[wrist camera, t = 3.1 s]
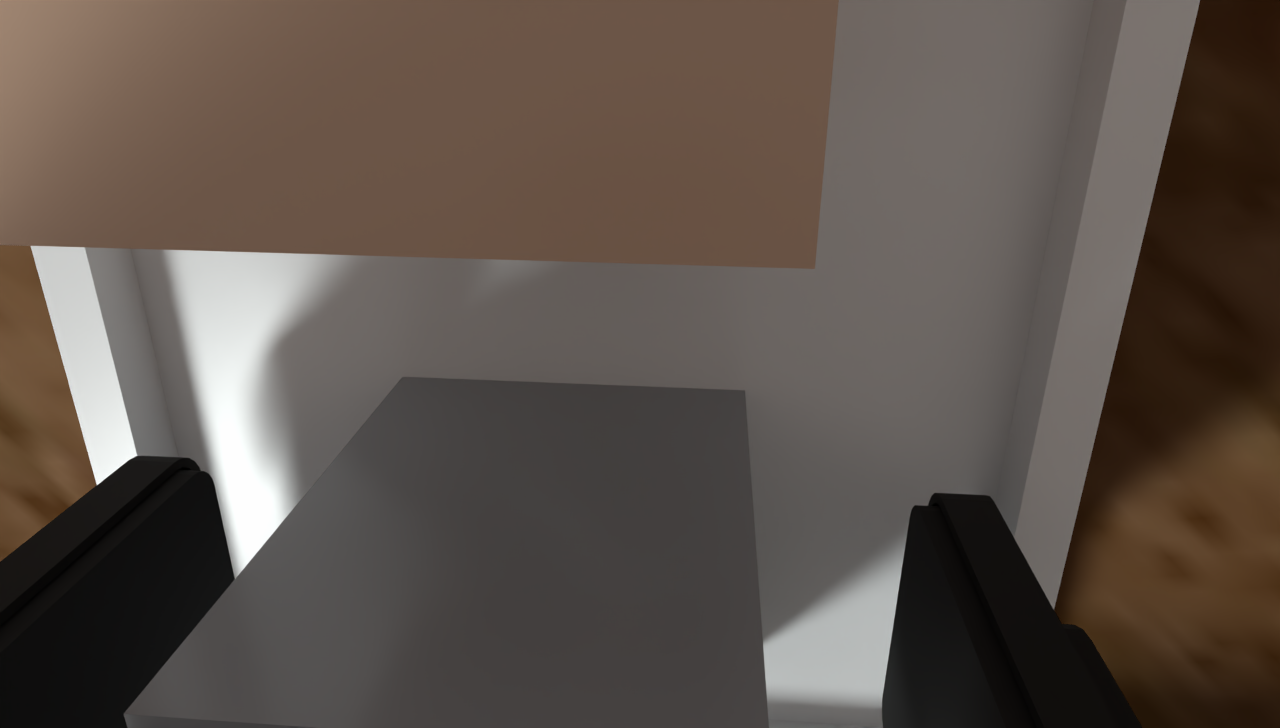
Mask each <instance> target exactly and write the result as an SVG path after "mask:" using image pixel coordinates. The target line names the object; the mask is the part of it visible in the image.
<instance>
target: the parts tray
mask: <svg viewBox="0 0 1280 728" xmlns="http://www.w3.org/2000/svg"><path fill="white" fill-rule="evenodd" d="M1199 3H1200V0H839V3H838V14H837V25H836V37H835V48H834V59H833V70H832V82H831V93H830V104H829V115H828V127H827V138H826V149H825V160H824V172H823V183H822V194H821V205H820V217H819V228H818V239H817V250H816V262H815V269H801V268H767V267H733V266H699V265H665V264H632V263H598V262H564V261H530V260H496V259H462V258H428V257H394V256H360V255H326V254H292V253H259V252H225V251H191V250H157V249H123V248H89V247H55V246H31V249H32V252H33V256H34V260H35V263H36V267H37V271H38V274H39V278H40V281H41V285H42V289H43V292H44V296H45V299H46V303H47V307H48V310H49V314H50V317H51V321H52V325H53V328H54V332H55V335H56V339H57V343H58V346H59V350H60V353H61V357H62V361H63V364H64V368H65V372H66V375H67V379H68V382H69V386H70V390H71V393H72V397H73V400H74V404H75V408H76V411H77V415H78V418H79V422H80V426H81V429H82V433H83V436H84V440H85V444H86V447H87V451H88V454H89V458H90V462H91V465H92V469H93V473H94V476H95V480H96V483H97V485H98V484H99V483H100V482H102V481H103V480H104V479H106V478H107V477H108V476H109V475H111V474H112V473H113V472H114V471H116V470H117V469H118V468H119V467H121V466H122V465H123V464H124V463H126V462H127V461H128V460H130V459H132V458H134V457H135V456H163V457H184V458H190V459H192V460H194V461H195V462H196V463H197V465H198V466H199V467H200V470H201V471H205V472H207V473H209V475H210V476H211V477H212V479H213V482H214V485H215V490H216V494H217V499H218V503H219V508H220V513H221V517H222V522H223V527H224V531H225V536H226V540H227V545H228V550H229V554H230V559H231V564H232V568H233V573H234V577H235V579H236V577H237V576H238V575H239V574H240V573H241V571H242V570H243V569H244V568H245V566H246V565H247V564H248V563H249V562H250V560H251V559H252V558H253V557H254V556H255V554H256V553H257V552H258V551H259V550H260V548H261V547H262V546H263V545H264V543H265V542H266V541H267V540H268V539H269V537H270V536H271V535H272V534H273V533H274V531H275V530H276V529H277V528H278V527H279V525H280V524H281V523H282V522H283V520H284V519H285V518H286V517H287V516H288V514H289V513H290V512H291V511H292V510H293V508H294V507H295V506H296V505H297V504H298V502H299V501H300V500H301V499H302V498H303V496H304V495H305V494H306V493H307V491H308V490H309V489H310V488H311V487H312V485H313V484H314V483H315V482H316V481H317V479H318V478H319V477H320V476H321V475H322V473H323V472H324V471H325V470H326V468H327V467H328V466H329V465H330V464H331V462H332V461H333V460H334V459H335V458H336V456H337V455H338V454H339V453H340V452H341V450H342V449H343V448H344V447H345V445H346V444H347V443H348V442H349V441H350V439H351V438H352V437H353V436H354V435H355V433H356V432H357V431H358V430H359V429H360V427H361V426H362V425H363V424H364V423H365V421H366V420H367V419H368V418H369V416H370V415H371V414H372V413H373V412H374V410H375V409H376V408H377V407H378V406H379V404H380V403H381V402H382V401H383V400H384V398H385V397H386V396H387V395H388V393H389V392H390V391H391V390H392V389H393V387H394V386H395V385H396V384H397V383H398V381H399V380H400V379H401V378H402V377H422V378H447V379H472V380H497V381H522V382H547V383H572V384H598V385H623V386H648V387H673V388H698V389H723V390H745V397H746V411H747V426H748V440H749V454H750V468H751V482H752V496H753V510H754V524H755V538H756V552H757V566H758V580H759V595H760V609H761V623H762V637H763V651H764V665H765V679H766V693H767V707H768V721H769V728H883V722H882V697H883V690H884V683H885V676H886V670H887V663H888V657H889V650H890V643H891V637H892V630H893V624H894V617H895V610H896V604H897V597H898V591H899V584H900V577H901V571H902V564H903V558H904V551H905V544H906V538H907V531H908V525H909V518H910V514H911V510H912V508H913V507H914V506H915V505H921V506H928V504H929V501H930V498H931V496H932V495H933V494H934V493H953V494H974V495H988V496H990V497H991V498H992V499H993V501H994V502H995V504H996V506H997V508H998V509H999V511H1000V513H1001V515H1002V517H1003V518H1004V520H1005V522H1006V524H1007V526H1008V528H1009V529H1010V531H1011V533H1012V535H1013V537H1014V538H1015V540H1016V542H1017V544H1018V546H1019V548H1020V549H1021V551H1022V553H1023V555H1024V557H1025V558H1026V560H1027V562H1028V564H1029V566H1030V568H1031V569H1032V571H1033V573H1034V575H1035V577H1036V578H1037V580H1038V582H1039V584H1040V586H1041V588H1042V589H1043V591H1044V593H1045V595H1046V597H1047V598H1048V600H1049V602H1050V604H1051V606H1052V608H1053V609H1054V608H1055V604H1056V599H1057V595H1058V591H1059V587H1060V583H1061V579H1062V574H1063V570H1064V566H1065V562H1066V558H1067V554H1068V549H1069V545H1070V541H1071V537H1072V533H1073V529H1074V524H1075V520H1076V516H1077V512H1078V508H1079V503H1080V499H1081V495H1082V491H1083V487H1084V483H1085V478H1086V474H1087V470H1088V466H1089V462H1090V458H1091V453H1092V449H1093V445H1094V441H1095V437H1096V433H1097V428H1098V424H1099V420H1100V416H1101V412H1102V408H1103V403H1104V399H1105V395H1106V391H1107V387H1108V383H1109V378H1110V374H1111V370H1112V366H1113V362H1114V358H1115V353H1116V349H1117V345H1118V341H1119V337H1120V333H1121V328H1122V324H1123V320H1124V316H1125V312H1126V308H1127V303H1128V299H1129V295H1130V291H1131V287H1132V283H1133V278H1134V274H1135V270H1136V266H1137V262H1138V258H1139V253H1140V249H1141V245H1142V241H1143V237H1144V233H1145V228H1146V224H1147V220H1148V216H1149V212H1150V208H1151V203H1152V199H1153V195H1154V191H1155V187H1156V183H1157V178H1158V174H1159V170H1160V166H1161V162H1162V158H1163V153H1164V149H1165V145H1166V141H1167V137H1168V133H1169V128H1170V124H1171V120H1172V116H1173V112H1174V107H1175V103H1176V99H1177V95H1178V91H1179V87H1180V82H1181V78H1182V74H1183V70H1184V66H1185V62H1186V57H1187V53H1188V49H1189V45H1190V41H1191V37H1192V32H1193V28H1194V24H1195V20H1196V16H1197V12H1198V7H1199Z"/></svg>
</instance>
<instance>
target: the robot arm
mask: <svg viewBox="0 0 1280 728" xmlns="http://www.w3.org/2000/svg"><path fill="white" fill-rule="evenodd" d="M234 580H235V577H234V573H233V568H232V564H231V559H230V554H229V550H228V545H227V540H226V536H225V531H224V527H223V522H222V517H221V513H220V508H219V503H218V499H217V494H216V490H215V485H214V482H213V479H212V477H211V476H210V475H209V473H207V472H205V471H201V470H200V467H199V466H198V465H197V463H196V462H195V461H194V460H192V459H190V458H184V457H163V456H135V457H134V458H132V459H130V460H128V461H127V462H126V463H124V464H123V465H122V466H121V467H119V468H118V469H117V470H116V471H114V472H113V473H112V474H111V475H109V476H108V477H107V478H106V479H104V480H103V481H102V482H100V483H99V484H98V485H97V486H95V487H94V488H93V489H92V490H90V491H89V492H88V493H87V494H85V495H84V496H83V497H82V498H80V499H79V500H78V501H77V502H75V503H74V504H73V505H71V506H70V507H69V508H68V509H66V510H65V511H64V512H63V513H61V514H60V515H59V516H58V517H56V518H55V519H54V520H53V521H51V522H50V523H49V524H47V525H46V526H45V527H44V528H42V529H41V530H40V531H39V532H37V533H36V534H35V535H34V536H32V537H31V538H30V539H29V540H27V541H26V542H25V543H24V544H22V545H21V546H20V547H18V548H17V549H16V550H15V551H13V552H12V553H11V554H10V555H8V556H7V557H6V558H5V559H3V560H2V561H1V562H0V728H128V727H127V724H126V721H125V717H124V713H125V712H126V710H127V709H128V708H129V707H130V706H131V704H132V703H133V702H134V701H135V700H136V698H137V697H138V696H139V695H140V693H141V692H142V691H143V690H144V689H145V687H146V686H147V685H148V684H149V683H150V681H151V680H152V679H153V678H154V677H155V675H156V674H157V673H158V672H159V670H160V669H161V668H162V667H163V666H164V664H165V663H166V662H167V661H168V660H169V658H170V657H171V656H172V655H173V654H174V652H175V651H176V650H177V649H178V647H179V646H180V645H181V644H182V643H183V641H184V640H185V639H186V638H187V637H188V635H189V634H190V633H191V632H192V631H193V629H194V628H195V627H196V626H197V625H198V623H199V622H200V621H201V620H202V618H203V617H204V616H205V615H206V614H207V612H208V611H209V610H210V609H211V608H212V606H213V605H214V604H215V603H216V602H217V600H218V599H219V598H220V597H221V595H222V594H223V593H224V592H225V591H226V589H227V588H228V587H229V586H230V585H231V583H232V582H233V581H234ZM882 722H883V728H1142V726H1141V724H1140V723H1139V721H1138V719H1137V718H1136V716H1135V714H1134V712H1133V711H1132V709H1131V707H1130V706H1129V704H1128V702H1127V700H1126V699H1125V697H1124V695H1123V694H1122V692H1121V690H1120V688H1119V687H1118V685H1117V683H1116V682H1115V680H1114V678H1113V676H1112V675H1111V673H1110V671H1109V670H1108V668H1107V666H1106V664H1105V663H1104V661H1103V659H1102V658H1101V656H1100V654H1099V652H1098V651H1097V649H1096V647H1095V646H1094V644H1093V642H1092V640H1091V639H1090V638H1089V637H1088V635H1087V634H1086V633H1085V631H1084V630H1083V629H1081V628H1079V627H1077V626H1076V625H1069V624H1061V622H1060V620H1059V618H1058V617H1057V615H1056V613H1055V611H1054V609H1053V608H1052V606H1051V604H1050V602H1049V600H1048V598H1047V597H1046V595H1045V593H1044V591H1043V589H1042V588H1041V586H1040V584H1039V582H1038V580H1037V578H1036V577H1035V575H1034V573H1033V571H1032V569H1031V568H1030V566H1029V564H1028V562H1027V560H1026V558H1025V557H1024V555H1023V553H1022V551H1021V549H1020V548H1019V546H1018V544H1017V542H1016V540H1015V538H1014V537H1013V535H1012V533H1011V531H1010V529H1009V528H1008V526H1007V524H1006V522H1005V520H1004V518H1003V517H1002V515H1001V513H1000V511H999V509H998V508H997V506H996V504H995V502H994V501H993V499H992V498H991V497H990V496H988V495H974V494H953V493H934V494H933V495H932V496H931V498H930V501H929V504H928V506H921V505H915V506H914V507H913V508H912V510H911V514H910V518H909V525H908V531H907V538H906V544H905V551H904V558H903V564H902V571H901V577H900V584H899V591H898V597H897V604H896V610H895V617H894V624H893V630H892V637H891V643H890V650H889V657H888V663H887V670H886V676H885V683H884V690H883V697H882Z"/></svg>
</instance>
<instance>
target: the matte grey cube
mask: <svg viewBox="0 0 1280 728" xmlns="http://www.w3.org/2000/svg"><path fill="white" fill-rule="evenodd" d="M124 717H125V721H126V724H127V727H128V728H769V721H768V707H767V693H766V679H765V665H764V651H763V637H762V623H761V609H760V595H759V580H758V566H757V552H756V538H755V524H754V510H753V496H752V482H751V468H750V454H749V440H748V426H747V411H746V397H745V390H723V389H698V388H673V387H648V386H623V385H598V384H572V383H547V382H522V381H497V380H472V379H447V378H422V377H402V378H401V379H400V380H399V381H398V383H397V384H396V385H395V386H394V387H393V389H392V390H391V391H390V392H389V393H388V395H387V396H386V397H385V398H384V400H383V401H382V402H381V403H380V404H379V406H378V407H377V408H376V409H375V410H374V412H373V413H372V414H371V415H370V416H369V418H368V419H367V420H366V421H365V423H364V424H363V425H362V426H361V427H360V429H359V430H358V431H357V432H356V433H355V435H354V436H353V437H352V438H351V439H350V441H349V442H348V443H347V444H346V445H345V447H344V448H343V449H342V450H341V452H340V453H339V454H338V455H337V456H336V458H335V459H334V460H333V461H332V462H331V464H330V465H329V466H328V467H327V468H326V470H325V471H324V472H323V473H322V475H321V476H320V477H319V478H318V479H317V481H316V482H315V483H314V484H313V485H312V487H311V488H310V489H309V490H308V491H307V493H306V494H305V495H304V496H303V498H302V499H301V500H300V501H299V502H298V504H297V505H296V506H295V507H294V508H293V510H292V511H291V512H290V513H289V514H288V516H287V517H286V518H285V519H284V520H283V522H282V523H281V524H280V525H279V527H278V528H277V529H276V530H275V531H274V533H273V534H272V535H271V536H270V537H269V539H268V540H267V541H266V542H265V543H264V545H263V546H262V547H261V548H260V550H259V551H258V552H257V553H256V554H255V556H254V557H253V558H252V559H251V560H250V562H249V563H248V564H247V565H246V566H245V568H244V569H243V570H242V571H241V573H240V574H239V575H238V576H237V577H236V579H235V580H234V581H233V582H232V583H231V585H230V586H229V587H228V588H227V589H226V591H225V592H224V593H223V594H222V595H221V597H220V598H219V599H218V600H217V602H216V603H215V604H214V605H213V606H212V608H211V609H210V610H209V611H208V612H207V614H206V615H205V616H204V617H203V618H202V620H201V621H200V622H199V623H198V625H197V626H196V627H195V628H194V629H193V631H192V632H191V633H190V634H189V635H188V637H187V638H186V639H185V640H184V641H183V643H182V644H181V645H180V646H179V647H178V649H177V650H176V651H175V652H174V654H173V655H172V656H171V657H170V658H169V660H168V661H167V662H166V663H165V664H164V666H163V667H162V668H161V669H160V670H159V672H158V673H157V674H156V675H155V677H154V678H153V679H152V680H151V681H150V683H149V684H148V685H147V686H146V687H145V689H144V690H143V691H142V692H141V693H140V695H139V696H138V697H137V698H136V700H135V701H134V702H133V703H132V704H131V706H130V707H129V708H128V709H127V710H126V712H125V713H124Z"/></svg>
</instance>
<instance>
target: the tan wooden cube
mask: <svg viewBox="0 0 1280 728" xmlns="http://www.w3.org/2000/svg"><path fill="white" fill-rule="evenodd" d="M838 3H839V0H0V245H21V246H55V247H89V248H123V249H157V250H191V251H225V252H259V253H292V254H326V255H360V256H394V257H428V258H462V259H496V260H530V261H564V262H598V263H632V264H665V265H699V266H733V267H767V268H801V269H815V262H816V250H817V239H818V228H819V217H820V205H821V194H822V183H823V172H824V160H825V149H826V138H827V127H828V115H829V104H830V93H831V82H832V70H833V59H834V48H835V37H836V25H837V14H838Z"/></svg>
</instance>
